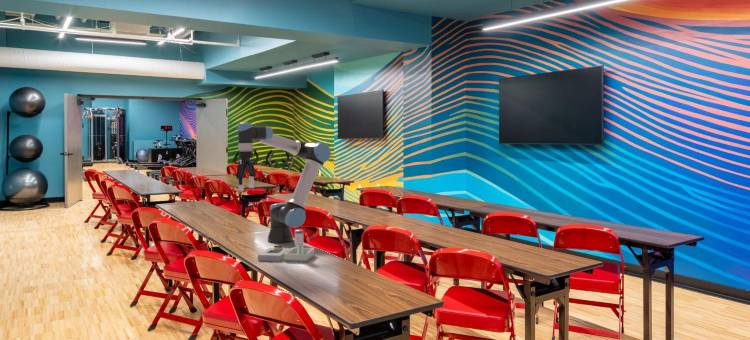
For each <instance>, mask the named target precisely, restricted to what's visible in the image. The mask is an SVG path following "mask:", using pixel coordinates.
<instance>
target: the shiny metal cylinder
mask: <svg viewBox="0 0 750 340" xmlns="http://www.w3.org/2000/svg"><path fill="white" fill-rule="evenodd" d="M294 248H295V254H304V249H303V248H304V229H303V228H302V229H301V228H299V229H294Z"/></svg>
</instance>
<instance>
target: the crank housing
mask: <svg viewBox="0 0 750 340" xmlns="http://www.w3.org/2000/svg"><path fill="white" fill-rule="evenodd" d="M290 249H291V248H290V247H289V248H288V247H283V245H273V247H268V248H267V249H264V251H262V252H260V253H258V254H257V261H261V262H282V261H284V253H286V252H287V251H288V250H290Z"/></svg>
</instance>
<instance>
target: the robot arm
mask: <svg viewBox="0 0 750 340" xmlns="http://www.w3.org/2000/svg"><path fill="white" fill-rule="evenodd" d="M237 137H238V139H237V140H238V141H237V142H238V145H237V147H238V158H239V160H238V162H237V163H238V164H237V165H238V166H237V169H236V170H237V171H236V176H235V177H236V180H237V181H238V192H244V191H245V178H244V176H245V172H246V170H247V173H248V175H249V176H248V188H249V189H254V188H255V177H256V174H257V173H256V169H255V165H254V159H253V157H254V154H253V150H254V147H253V145H254V144H253V142H257V143H259V144H263V145H266V146H269V147H272V148H275V149H279V150H282V151H285V152H288V153H291V155H292V156H295V157H297V158H301V159H303V160H304V162H305V164H304V167H303V170H302V171H301V174H300V176H299V180H298V182H297V184H296V187H295V189H294V191H293V194H292V197H291V199H289V200H288V201H287V202H281V203H273V204H271V205H269V217H270V218H269V220H270V221H269V222H270V228H269V232H268V236H267V241H268V243H273V244H284V243H290V242H293V241H294V236H293V233H292V229H291V228H299V227H302V225H303V224H304V223H305V221H306V218H307V217H306V209H307V208H306V206H305V205H306V202H307V199H308V197H309V195H310V192H311V189H312V188H313V184H314V182H315V180H316V177H317V174H318V172H319V169H321V168H323V166H324V165H325V162H328V161H329V160H330V158H331V156H332V155H331V154H332V152H331V148H330V146H329V145H328V144H327V143H325V142H321V141H317V142H315V141H310V142H309V141H300V140H292V139H290V138H287V137H284V136H282V135H278V134H274V131H273V129H272V127H271V126H268V125H264V126H262V125H261V126H260V125H259V126H258V125H257V126H256V125H255V126H253V123H252V122H238V124H237Z"/></svg>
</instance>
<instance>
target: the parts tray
mask: <svg viewBox="0 0 750 340" xmlns="http://www.w3.org/2000/svg"><path fill="white" fill-rule="evenodd" d="M303 249H304V254H295V247H291V248H290V250H288V251H287V252H286V253H284V259H283V262H284V263H285V262H286V263H308V262H309V261H310V260H311V259H312V258H314V257H315V248H314V247H303Z"/></svg>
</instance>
